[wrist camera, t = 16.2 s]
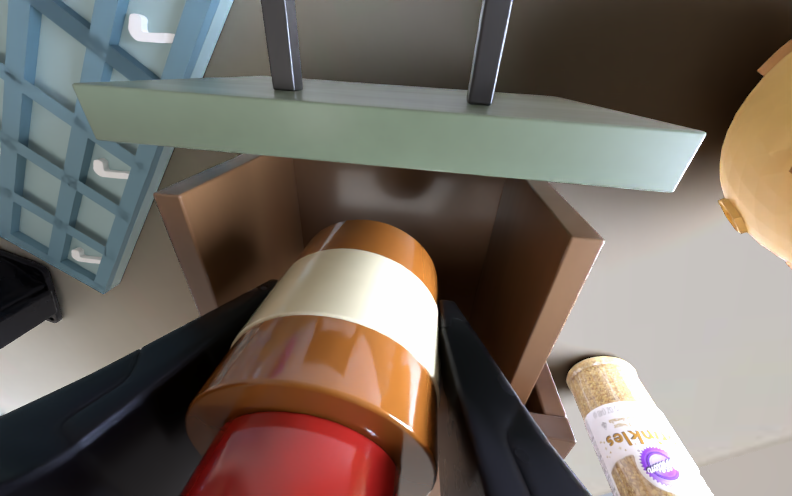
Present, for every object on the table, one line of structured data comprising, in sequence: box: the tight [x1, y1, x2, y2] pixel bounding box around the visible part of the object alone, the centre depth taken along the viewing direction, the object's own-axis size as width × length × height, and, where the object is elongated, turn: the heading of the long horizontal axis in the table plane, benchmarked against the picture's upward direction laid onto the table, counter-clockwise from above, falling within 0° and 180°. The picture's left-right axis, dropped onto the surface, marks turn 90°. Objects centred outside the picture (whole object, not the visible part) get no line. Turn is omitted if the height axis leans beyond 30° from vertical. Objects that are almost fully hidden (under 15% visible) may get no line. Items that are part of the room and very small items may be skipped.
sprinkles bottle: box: [566, 356, 714, 496], centre depth 16 cm, size 5×5×13 cm
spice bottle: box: [179, 219, 440, 496], centre depth 7 cm, size 4×4×6 cm
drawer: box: [72, 0, 706, 406], centre depth 12 cm, size 18×13×8 cm
